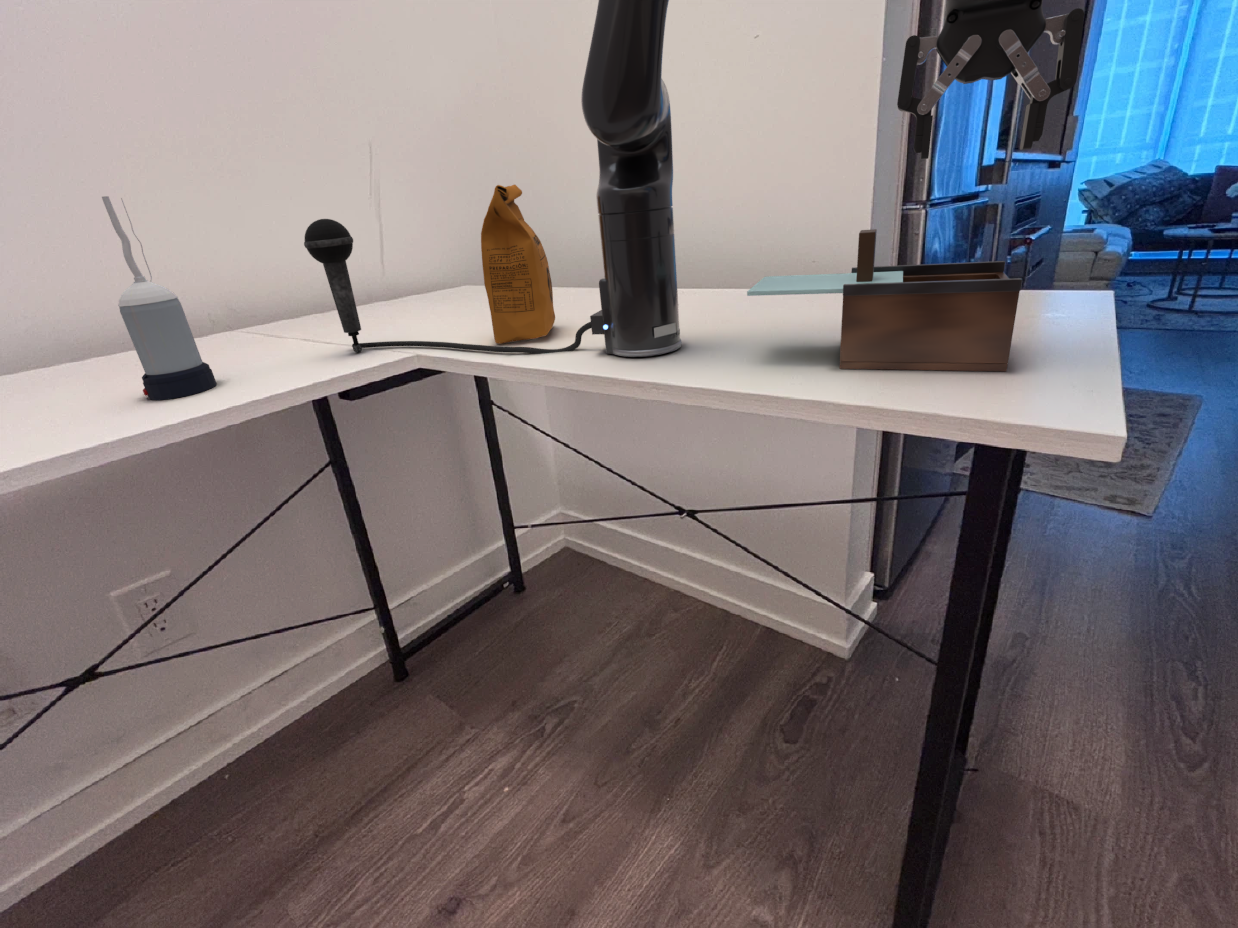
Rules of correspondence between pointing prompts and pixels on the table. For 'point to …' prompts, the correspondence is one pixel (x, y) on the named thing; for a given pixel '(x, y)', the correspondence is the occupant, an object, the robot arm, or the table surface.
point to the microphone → (336, 269)
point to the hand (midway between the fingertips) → (973, 154)
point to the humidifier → (159, 332)
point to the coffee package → (515, 272)
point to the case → (931, 318)
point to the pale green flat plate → (830, 275)
